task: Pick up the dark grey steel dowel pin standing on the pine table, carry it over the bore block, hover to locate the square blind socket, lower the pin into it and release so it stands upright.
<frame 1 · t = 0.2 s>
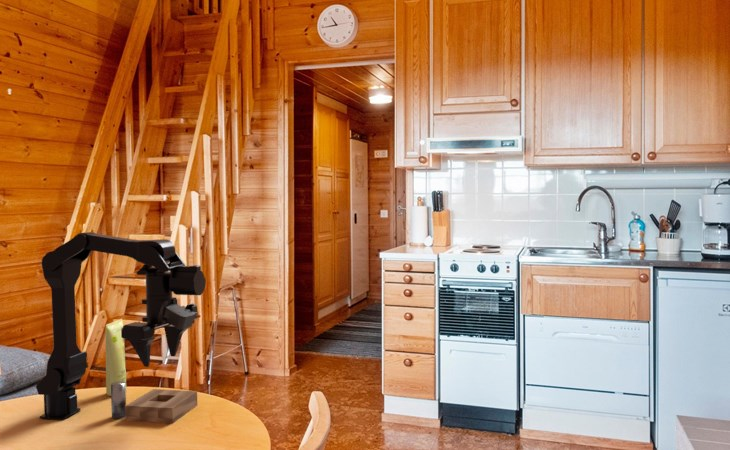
hand: (160, 361, 133), 14 cm above the table, fingers open, 9 cm apart
tube: (116, 394, 153), on the table
pin: (119, 416, 136), on the table
bore block: (162, 412, 139), on the table
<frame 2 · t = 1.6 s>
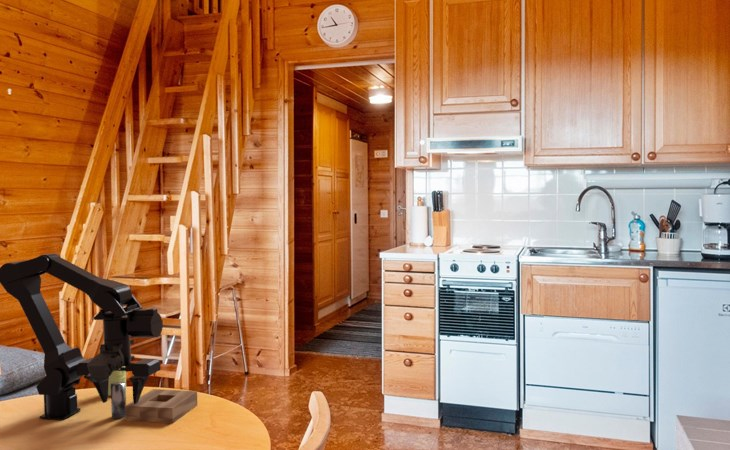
hand: (120, 402, 136), 3 cm above the table, fingers open, 8 cm apart
nothing on the table moved.
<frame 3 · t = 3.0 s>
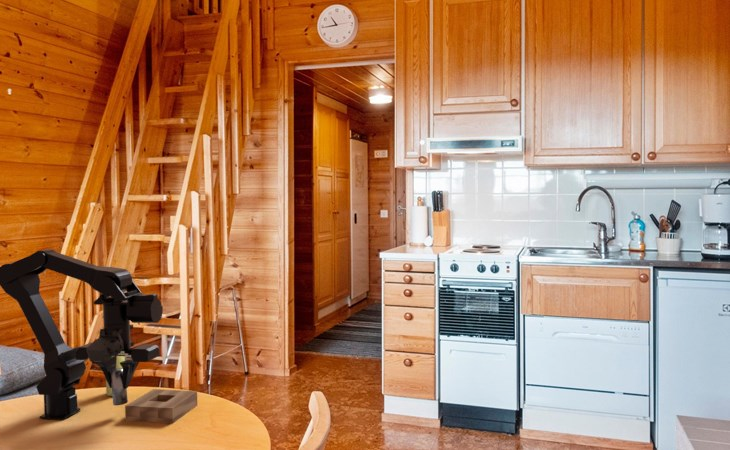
hand: (119, 387, 136), 7 cm above the table, fingers closed on pin, 3 cm apart
pin: (120, 403, 136), point 3 cm above the table, touching gripper
everything else where it was.
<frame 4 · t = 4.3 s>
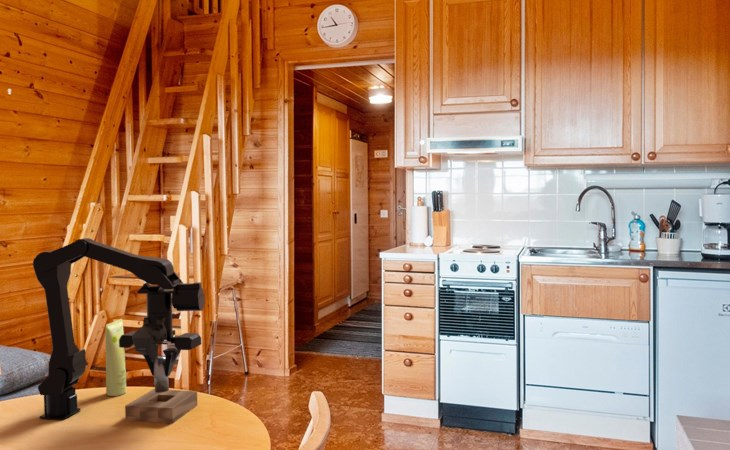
hand: (161, 375, 138), 9 cm above the table, fingers closed on pin, 3 cm apart
pin: (161, 390, 138), point 5 cm above the table, touching gripper
everything else where it was.
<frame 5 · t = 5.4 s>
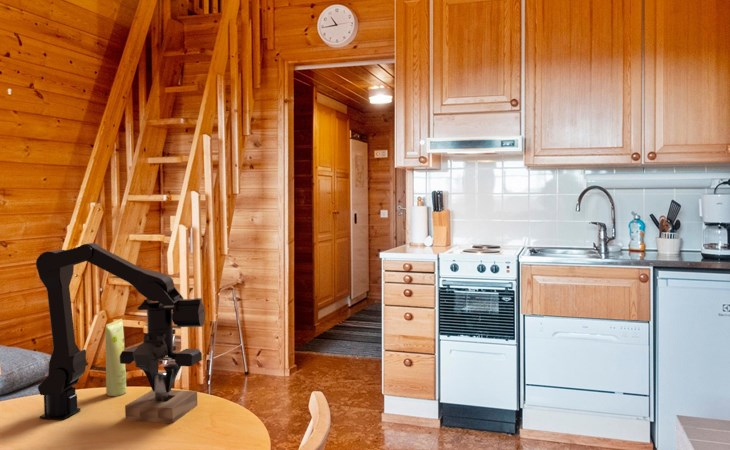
hand: (161, 391, 138), 5 cm above the table, fingers closed on pin, 3 cm apart
pin: (162, 406, 139), point 2 cm above the table, touching gripper
everything else where it was.
when the fingers open (5 cm above the table, at t = 5.7 s): pin stays where it is, resting on bore block.
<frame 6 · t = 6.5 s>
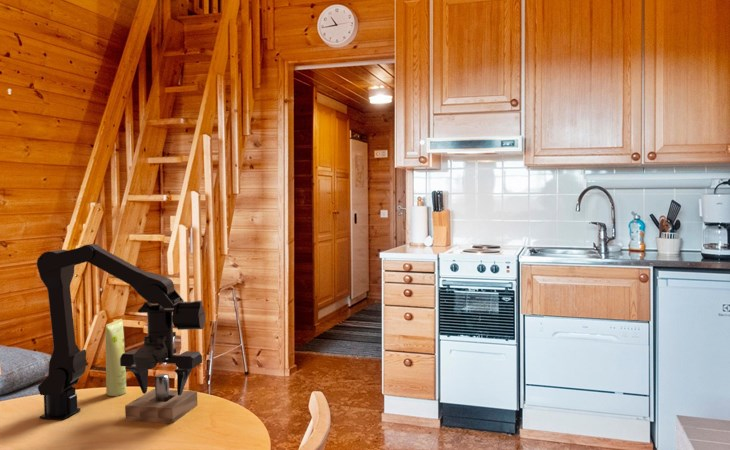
hand: (162, 394, 139), 5 cm above the table, fingers open, 9 cm apart
pin: (162, 408, 139), point 1 cm above the table, touching bore block
everything else where it was.
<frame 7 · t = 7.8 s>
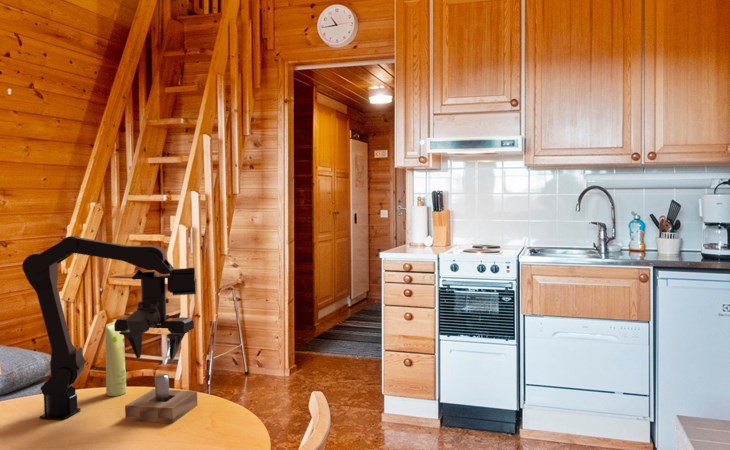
hand: (155, 358, 143), 12 cm above the table, fingers open, 9 cm apart
nothing on the table moved.
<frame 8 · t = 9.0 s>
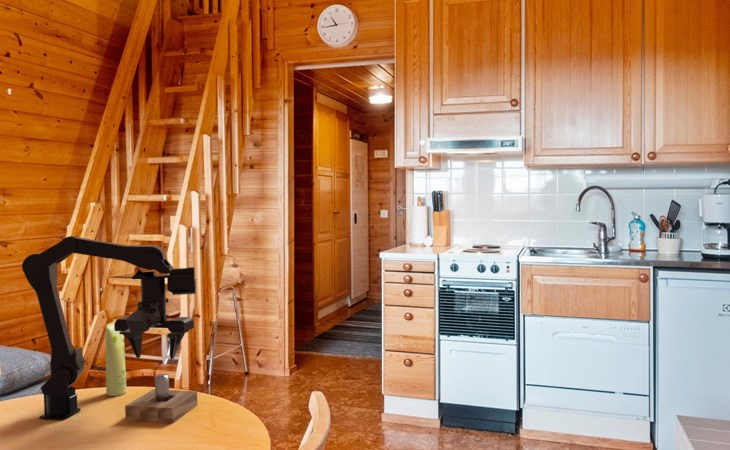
hand: (155, 358, 143), 12 cm above the table, fingers open, 9 cm apart
nothing on the table moved.
at the end: pin 0.1 cm off-centre on the bore block, point 1.0 cm above the bore block's base; pin tilted 0°; the gripper is holding nothing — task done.
